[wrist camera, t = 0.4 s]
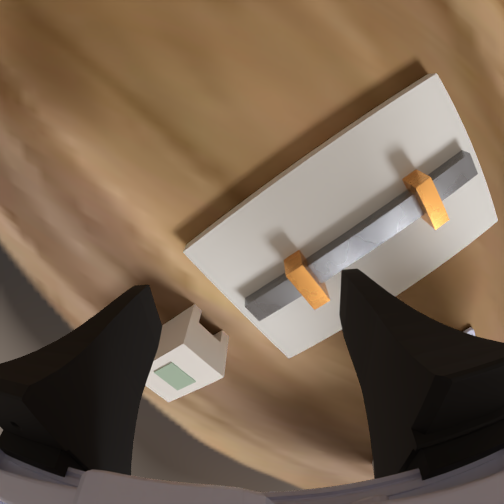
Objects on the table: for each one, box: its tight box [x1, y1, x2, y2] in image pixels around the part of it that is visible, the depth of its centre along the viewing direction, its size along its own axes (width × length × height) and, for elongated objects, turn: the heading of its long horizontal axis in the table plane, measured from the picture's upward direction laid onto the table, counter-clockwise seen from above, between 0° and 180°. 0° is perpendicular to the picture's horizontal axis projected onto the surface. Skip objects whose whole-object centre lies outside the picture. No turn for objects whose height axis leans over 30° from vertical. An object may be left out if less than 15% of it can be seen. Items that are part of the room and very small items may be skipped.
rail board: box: [183, 73, 498, 358], centre depth 20 cm, size 12×20×1 cm, turn 128°
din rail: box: [245, 150, 478, 321], centre depth 19 cm, size 3×18×2 cm, turn 128°
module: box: [145, 304, 229, 402], centre depth 23 cm, size 4×6×5 cm, turn 128°
